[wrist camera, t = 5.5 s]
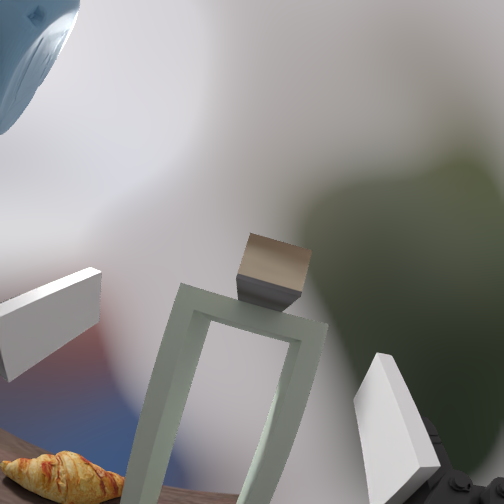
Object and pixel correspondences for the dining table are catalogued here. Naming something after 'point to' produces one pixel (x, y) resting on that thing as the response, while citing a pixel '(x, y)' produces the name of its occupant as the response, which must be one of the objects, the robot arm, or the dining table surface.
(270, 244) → the light wooden bar
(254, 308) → the rectangular arch
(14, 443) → the dining table surface
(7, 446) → the dining table surface
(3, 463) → the croissant
